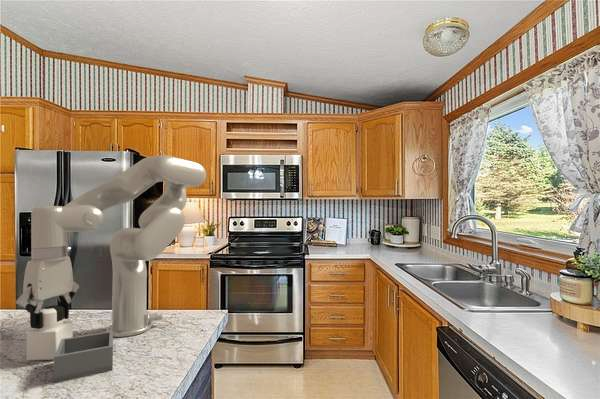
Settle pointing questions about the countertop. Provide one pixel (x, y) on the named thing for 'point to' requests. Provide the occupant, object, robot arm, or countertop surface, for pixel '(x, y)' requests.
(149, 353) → the countertop surface
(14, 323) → the countertop surface
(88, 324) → the countertop surface
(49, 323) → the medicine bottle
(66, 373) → the bin
